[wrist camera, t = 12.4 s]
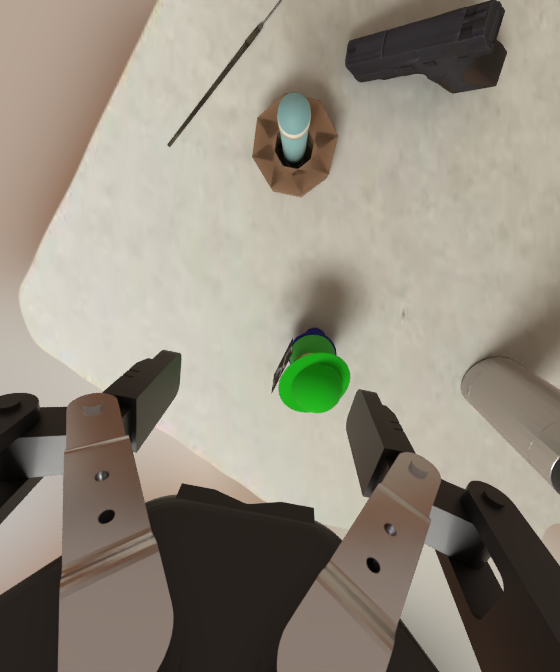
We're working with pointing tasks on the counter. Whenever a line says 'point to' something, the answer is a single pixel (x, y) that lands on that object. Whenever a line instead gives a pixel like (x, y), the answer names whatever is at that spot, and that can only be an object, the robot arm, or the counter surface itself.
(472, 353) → the counter surface
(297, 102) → the teal capped tube
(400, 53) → the handgun
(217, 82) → the paintbrush
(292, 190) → the bead
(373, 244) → the counter surface
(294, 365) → the toy
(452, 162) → the counter surface
